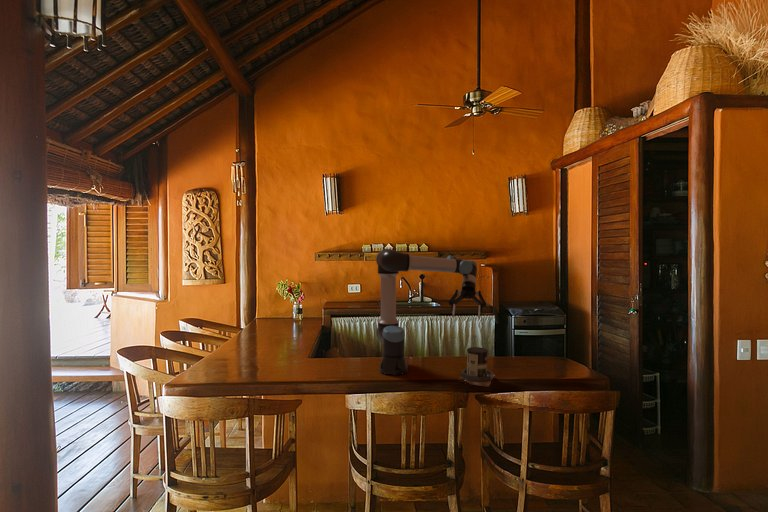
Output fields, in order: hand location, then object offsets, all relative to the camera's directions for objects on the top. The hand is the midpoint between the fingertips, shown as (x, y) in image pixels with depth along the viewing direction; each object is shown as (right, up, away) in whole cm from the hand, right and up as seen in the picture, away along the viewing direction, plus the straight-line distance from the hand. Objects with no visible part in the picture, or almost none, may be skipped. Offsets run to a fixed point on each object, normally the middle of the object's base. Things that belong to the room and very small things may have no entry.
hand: (466, 316), depth 255 cm
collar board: (+3, -31, -13) cm, 34 cm away
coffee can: (+3, -29, -13) cm, 32 cm away
